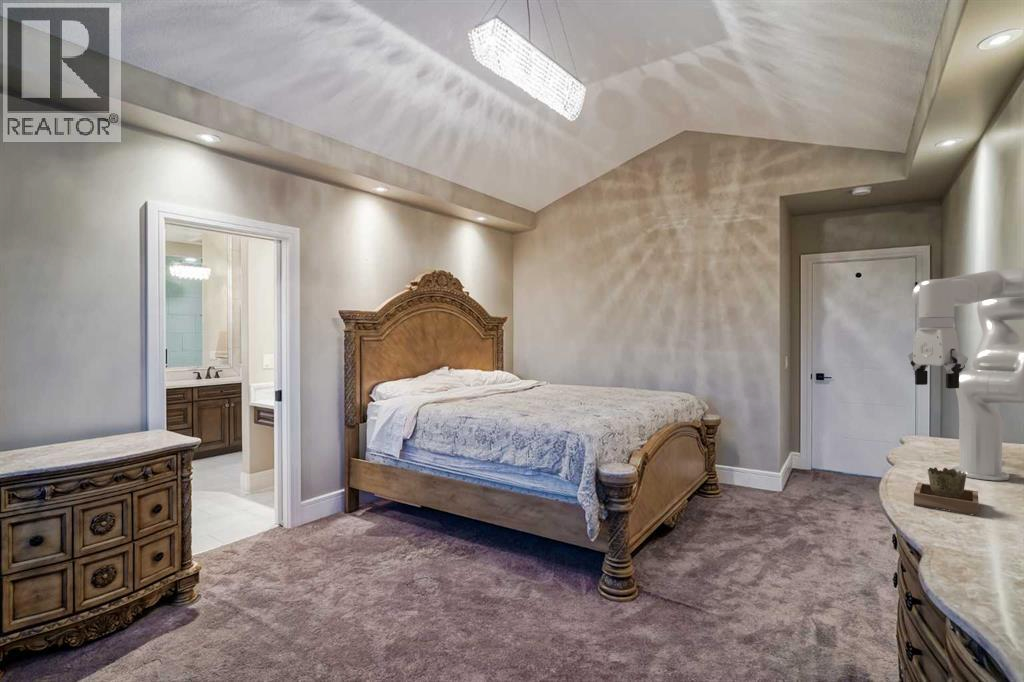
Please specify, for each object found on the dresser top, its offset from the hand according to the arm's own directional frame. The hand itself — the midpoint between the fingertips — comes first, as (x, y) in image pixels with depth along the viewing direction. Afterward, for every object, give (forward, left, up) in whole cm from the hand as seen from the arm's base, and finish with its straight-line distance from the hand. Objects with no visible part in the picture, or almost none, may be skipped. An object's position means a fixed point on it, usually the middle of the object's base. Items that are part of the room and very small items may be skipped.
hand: (936, 386), depth 141 cm
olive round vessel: (+12, +9, -28) cm, 32 cm away
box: (+12, +9, -28) cm, 32 cm away
